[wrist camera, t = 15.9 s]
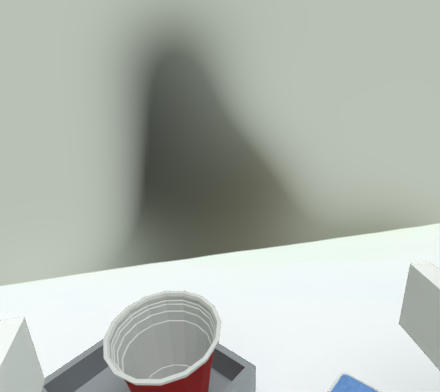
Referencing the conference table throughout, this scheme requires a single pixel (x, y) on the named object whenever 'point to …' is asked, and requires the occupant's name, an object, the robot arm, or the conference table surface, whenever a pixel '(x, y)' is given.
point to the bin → (117, 387)
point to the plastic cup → (164, 343)
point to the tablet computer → (350, 385)
